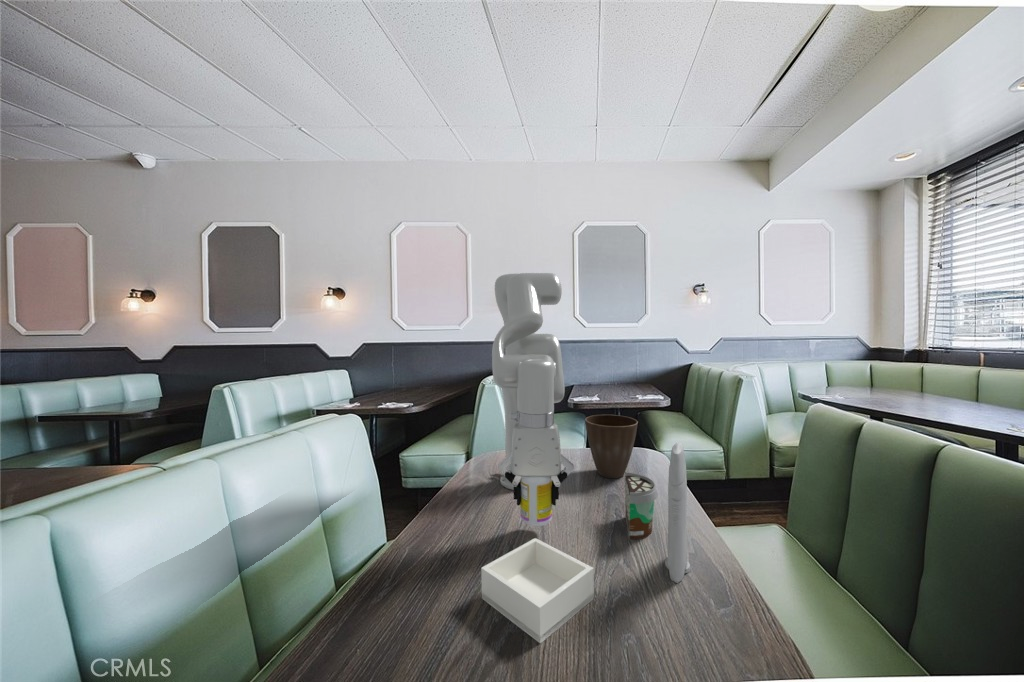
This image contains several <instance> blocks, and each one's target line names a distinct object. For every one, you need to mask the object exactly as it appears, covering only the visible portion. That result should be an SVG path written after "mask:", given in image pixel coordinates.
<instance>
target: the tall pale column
mask: <svg viewBox="0 0 1024 682" xmlns="http://www.w3.org/2000/svg"><path fill="white" fill-rule="evenodd" d="M671 447H672V448H671V452H670V458H669V460H670V461H669V465H668V466H669V468H668V483H667V485H668V487H667V490H668V491H667V501H668V502H667V504H668V506H667V507H668V509H667V510H668V511H667V512H668V515H667V516H668V518H667V519H668V521H667V556H666V558H665V559H664V560H665V561H664V564H665V565H664V566H665V567H666V568H667V569H668V572H669V579H670V580H671V582H673V583H674V584H675V583H676V584H679V583H681V582H682V581H683V579H684V577H685V574H688V573H689V572H690V571H691V563H690V562H689V561H688V528H687V527H688V526H687V525H688V522H687V521H688V520H687V519H688V517H687V515H688V514H687V513H688V510H687V509H688V508H687V506H688V505H687V504H688V502H687V501H688V498H687V497H688V495H687V494H688V491H687V490H688V485H687V484H688V482H687V464H686V458H685V449H684V446H683V443H681V442H676V443H675V444H674V445H672V446H671Z"/></svg>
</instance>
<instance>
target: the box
mask: <svg viewBox="0 0 1024 682" xmlns="http://www.w3.org/2000/svg"><path fill="white" fill-rule="evenodd" d="M480 569H481V571H480V572H481V574H480V575H481V599H482V600H484V602H485V603H487V604H488V605H489V606H491V607H492V608H493V609H495V610H496V611H498V613H500V614H501V615H502V616H504V617H505V618H506V619H508V620H509V621H510V622H512V623H513V624H514V625H516V626H517V627H518V628H519V629H520V630H521V631H523V632H525V633H526V634H527V635H528V636H530V637H531V638H533V639H534V640H535V641H536V642H537V643H539V644H542V643H543V642H544V641H545V640H547V639H548V638H549V637H551V635H553V634H554V633H555V632H557V631H558V630H559V629H560V628H561V627H563V625H564V624H566V623H567V622H568V621H569V620H570V619H572V618H573V617H574V616H575V615H576V614H578V613H579V612H580V611H582V610H583V608H585V607H586V606H587V605H588V604H589V603H591V602H592V601H593V600H594V599H595V598H594V597H595V596H594V595H595V593H594V592H595V591H594V589H595V588H594V586H595V582H594V577H595V576H594V572H595V570H594V567H593V566H591V565H588V564H587V563H584V562H583V561H581V560H578V559H577V558H575V557H573V556H571V555H569V554H568V553H565V552H564V551H562V550H560V549H558V548H555V547H553V546H552V545H550V544H548V543H546V542H544V541H542V540H540V539H538V538H536V537H535V538H532V539H531V540H528V541H527V542H526V543H524V544H522V545H519V546H518V547H515V548H514V549H513V550H511V551H509V552H507V553H505V554H503V555H502V556H500V557H498V558H497V559H495V560H493V561H491V562H489V563H488V564H485V565H484V566H482V567H481V568H480Z"/></svg>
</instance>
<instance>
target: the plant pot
mask: <svg viewBox="0 0 1024 682" xmlns="http://www.w3.org/2000/svg"><path fill="white" fill-rule="evenodd" d="M638 423H639V421H638V420H637V419H635V418H633V417H629V416H624V415H619V414H618V415H615V414H595V415H590V416H587V417H586V418H585V429H586V435H587V440H588V445H589V449H590V452H591V457H592V459H593V464H594V465H595V466H594V467H595V469H596V472H597V473H598V475H599V476H601V477H603V478H607V479H619V478H622V477H624V476H625V472H626V470H627V468H628V466H629V462H630V459H631V456H632V453H633V449H634V445H635V440H636V437H637V431H638V430H637V429H638Z"/></svg>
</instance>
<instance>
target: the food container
mask: <svg viewBox="0 0 1024 682" xmlns="http://www.w3.org/2000/svg"><path fill="white" fill-rule="evenodd" d="M624 482H625V483H624V486H625V487H624V491H625V492H624V493H625V497H624V498H625V499H624V500H625V507H624V508H625V522H626V527H627V532H628V533H627V534H628V539H629V540H641V539H644V538H648V537H649V536H650V535H651V534H652V532H653V521H654V507H655V505H654V504H655V500H656V499H658V496H659V495H658V489H657V486H656V484H655V482H654V481H653V479H651V478H650V477H648V476H645V475H643V474H638V473H635V472H628V471H627V472H626V471H625V473H624Z"/></svg>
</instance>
